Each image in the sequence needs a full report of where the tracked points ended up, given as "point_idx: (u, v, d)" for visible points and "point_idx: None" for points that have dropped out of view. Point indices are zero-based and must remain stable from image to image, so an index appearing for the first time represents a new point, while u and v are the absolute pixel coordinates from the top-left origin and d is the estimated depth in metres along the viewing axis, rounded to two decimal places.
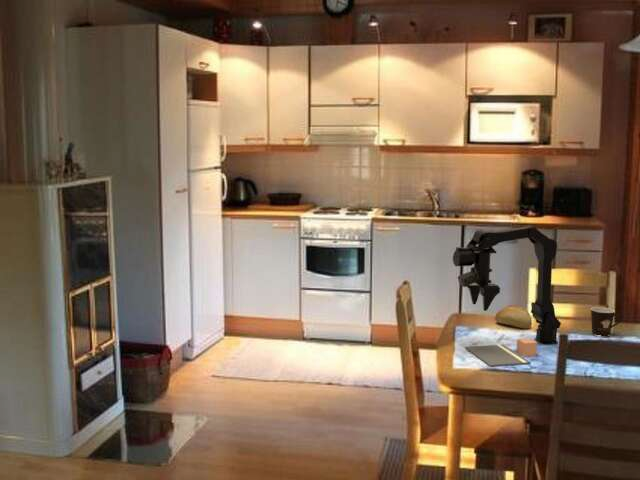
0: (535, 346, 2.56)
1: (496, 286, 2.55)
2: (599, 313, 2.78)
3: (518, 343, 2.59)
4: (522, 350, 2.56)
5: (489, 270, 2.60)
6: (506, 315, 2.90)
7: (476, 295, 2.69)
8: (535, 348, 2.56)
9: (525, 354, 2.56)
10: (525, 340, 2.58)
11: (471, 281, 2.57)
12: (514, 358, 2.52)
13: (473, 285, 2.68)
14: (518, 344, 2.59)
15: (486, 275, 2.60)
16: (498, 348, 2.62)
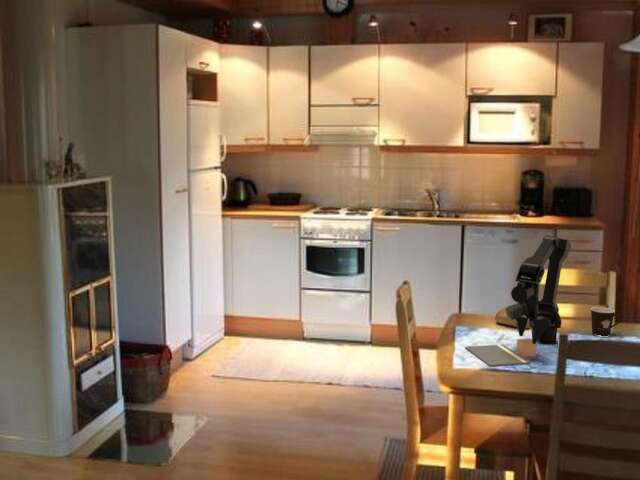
0: (535, 346, 2.56)
1: (546, 319, 2.48)
2: (599, 313, 2.78)
3: (518, 343, 2.59)
4: (522, 350, 2.56)
5: (538, 302, 2.53)
6: (506, 315, 2.90)
7: (523, 327, 2.62)
8: (535, 348, 2.56)
9: (525, 354, 2.56)
10: (525, 340, 2.58)
11: (520, 314, 2.51)
12: (514, 358, 2.52)
13: (520, 316, 2.62)
14: (518, 344, 2.59)
15: (535, 307, 2.53)
16: (498, 348, 2.62)
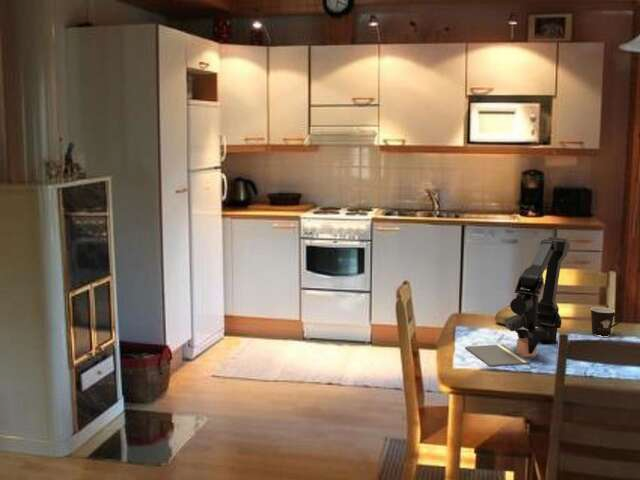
0: None
1: (545, 331, 2.48)
2: (599, 313, 2.78)
3: (518, 343, 2.59)
4: (522, 350, 2.56)
5: (537, 314, 2.54)
6: (506, 315, 2.90)
7: None
8: (535, 348, 2.56)
9: (525, 354, 2.56)
10: (525, 340, 2.58)
11: (519, 325, 2.51)
12: (514, 358, 2.52)
13: (522, 329, 2.60)
14: (518, 344, 2.59)
15: (534, 319, 2.54)
16: (498, 348, 2.62)
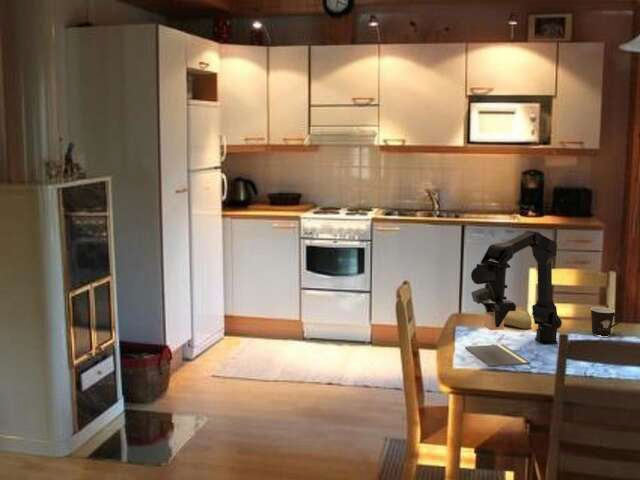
0: None
1: (512, 303, 2.44)
2: (599, 313, 2.78)
3: (485, 316, 2.54)
4: (489, 323, 2.51)
5: (504, 286, 2.49)
6: (506, 315, 2.90)
7: None
8: (502, 321, 2.51)
9: (492, 327, 2.51)
10: (493, 313, 2.53)
11: (486, 298, 2.46)
12: (514, 358, 2.52)
13: (489, 303, 2.55)
14: (485, 317, 2.54)
15: (501, 292, 2.49)
16: (498, 348, 2.62)
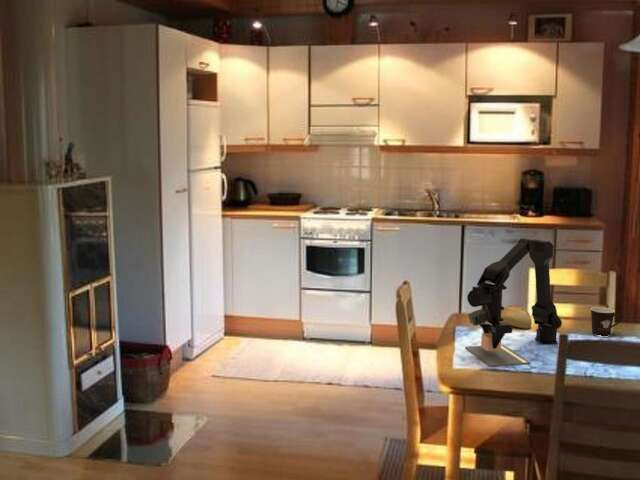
0: None
1: (508, 325, 2.45)
2: (599, 313, 2.78)
3: (482, 337, 2.55)
4: (486, 345, 2.52)
5: (501, 308, 2.50)
6: (506, 315, 2.90)
7: None
8: (499, 342, 2.52)
9: (489, 348, 2.52)
10: (489, 334, 2.54)
11: (482, 320, 2.47)
12: (514, 358, 2.52)
13: (486, 324, 2.57)
14: (482, 338, 2.55)
15: (498, 313, 2.50)
16: None
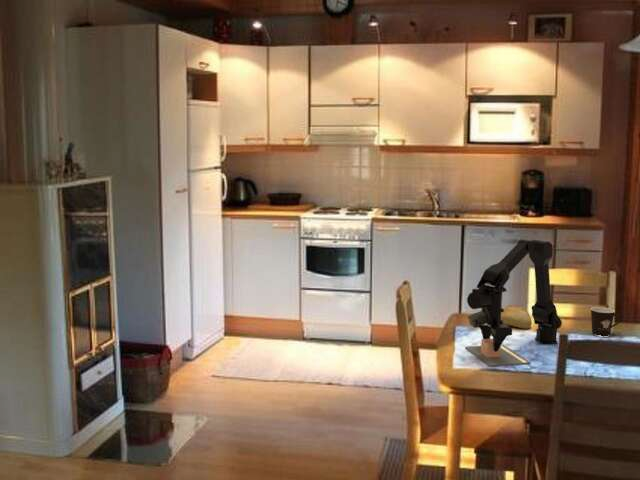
0: None
1: (508, 328, 2.45)
2: (599, 313, 2.78)
3: (482, 343, 2.55)
4: (486, 351, 2.53)
5: (501, 310, 2.51)
6: (506, 315, 2.90)
7: (488, 335, 2.58)
8: (499, 348, 2.53)
9: (489, 354, 2.52)
10: (489, 340, 2.55)
11: (482, 322, 2.48)
12: (514, 358, 2.52)
13: (485, 325, 2.58)
14: (482, 344, 2.55)
15: (498, 316, 2.50)
16: None
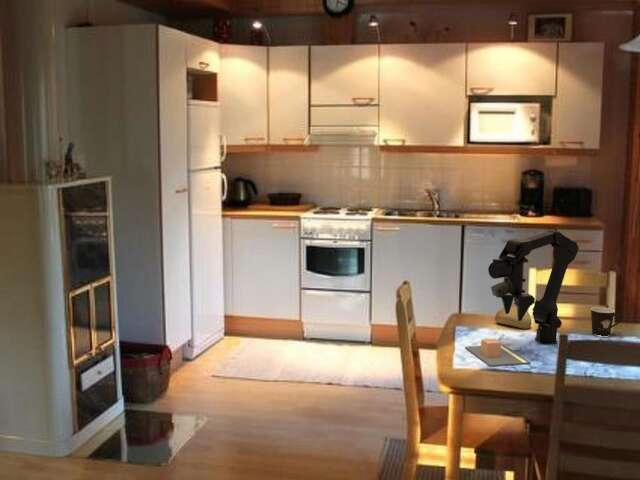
0: (499, 346, 2.53)
1: (531, 296, 2.53)
2: (599, 313, 2.78)
3: (482, 343, 2.55)
4: (486, 351, 2.53)
5: (523, 280, 2.59)
6: (506, 315, 2.90)
7: (509, 305, 2.67)
8: (499, 348, 2.53)
9: (489, 354, 2.52)
10: (489, 340, 2.55)
11: (505, 292, 2.56)
12: (514, 358, 2.52)
13: (506, 295, 2.67)
14: (482, 344, 2.55)
15: (520, 285, 2.58)
16: None
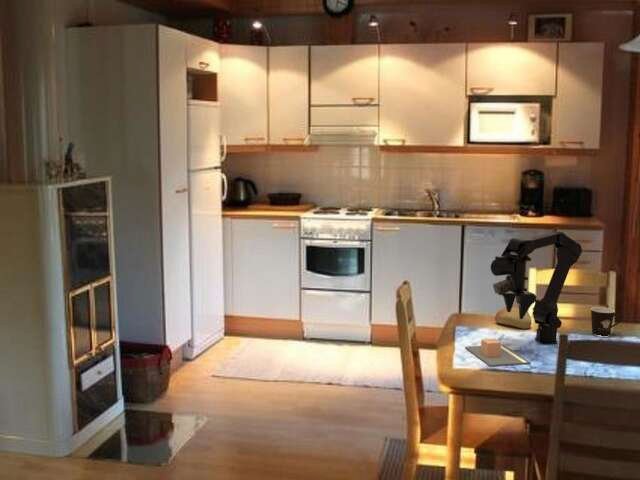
0: (499, 346, 2.53)
1: (533, 294, 2.54)
2: (599, 313, 2.78)
3: (482, 343, 2.55)
4: (486, 351, 2.53)
5: (525, 278, 2.60)
6: (506, 315, 2.90)
7: (511, 303, 2.68)
8: (499, 348, 2.53)
9: (489, 354, 2.52)
10: (489, 340, 2.55)
11: (507, 289, 2.57)
12: (514, 358, 2.52)
13: (508, 293, 2.68)
14: (482, 344, 2.55)
15: (522, 283, 2.59)
16: None
